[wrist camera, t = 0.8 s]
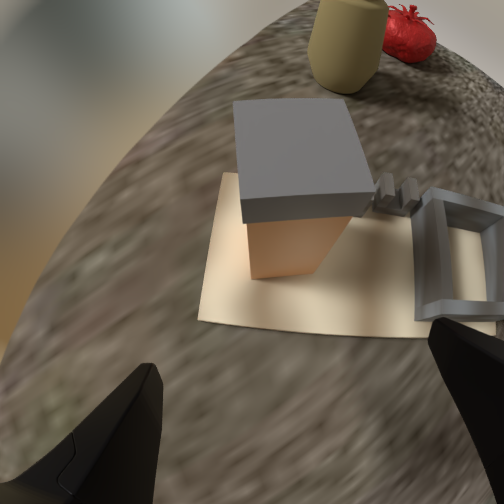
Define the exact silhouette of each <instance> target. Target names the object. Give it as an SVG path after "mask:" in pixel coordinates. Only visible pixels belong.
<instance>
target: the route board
mask: <svg viewBox="0 0 504 504" xmlns="http://www.w3.org/2000/svg"><path fill="white" fill-rule="evenodd" d="M375 190H376V193H375V194H374V196H373V197H372V199H371V200H370V202H369V203H368V204H367V206H366V207H365V209H364V210H363V212H362V213H361V214H360V216H353V217H352V219H351V220H350V222H349V223H348V225H347V226H346V228H345V229H344V231H343V232H342V233H341V235H340V236H339V238H338V239H337V241H336V242H335V244H334V245H333V247H332V248H331V249H330V251H329V252H328V254H327V255H326V257H325V258H324V259H323V261H322V262H321V264H320V265H319V266H318V268H317V269H316V271H315V272H314V273H313V274H304V275H293V276H283V277H272V278H261V279H251V273H250V262H249V250H248V239H247V227H246V224H243V222H242V213H241V204H240V193H239V179H238V173H226V172H223V177H222V182H221V187H220V192H219V197H218V202H217V208H216V213H215V218H214V224H213V229H212V235H211V240H210V246H209V252H208V258H207V264H206V270H205V276H204V282H203V288H202V295H201V301H200V308H199V314H198V320H199V321H204V322H211V323H218V324H225V325H233V326H241V327H249V328H258V329H267V330H276V331H286V332H297V333H309V334H323V335H338V336H356V337H381V338H428V336H429V332H430V329H431V325H432V322H433V320H434V319H436V318H440V317H446V318H449V319H451V320H454V321H456V322H458V323H461V324H463V325H466V326H468V327H471V328H473V329H476V330H478V331H481V332H483V333H486V334H488V335H490V336H495V335H496V321H499V320H504V207H503V206H500V205H497V204H494V203H490V202H487V201H484V200H480V199H477V198H473V197H470V196H466V195H463V194H459V193H455V192H451V191H447V190H443V189H439V188H435V187H430V188H429V189H428V190H427V191H426V192H425V193H424V194H423V195H422V197H421V198H420V199H419V192H418V186H417V180H416V179H415V178H410V177H407V179H406V180H405V181H404V183H403V184H402V185H401V187H400V188H399V189H394V181H393V174H391V173H386V172H383V173H382V175H381V176H380V178H379V179H378V181H377V183H376V184H375Z"/></svg>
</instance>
